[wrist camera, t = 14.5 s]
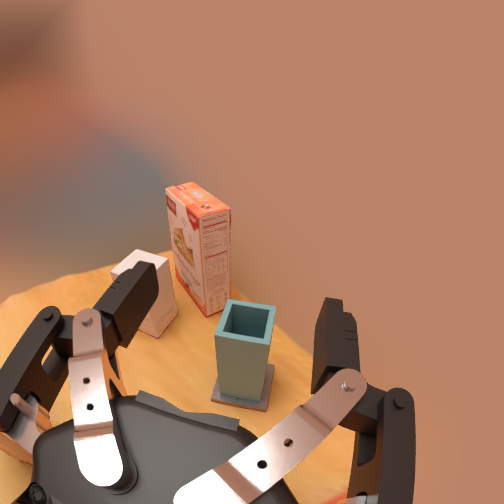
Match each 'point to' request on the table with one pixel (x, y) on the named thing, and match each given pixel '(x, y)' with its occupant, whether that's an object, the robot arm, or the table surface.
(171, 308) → the supplement box
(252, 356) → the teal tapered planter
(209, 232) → the cracker box
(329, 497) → the table surface
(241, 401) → the plate
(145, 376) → the table surface
